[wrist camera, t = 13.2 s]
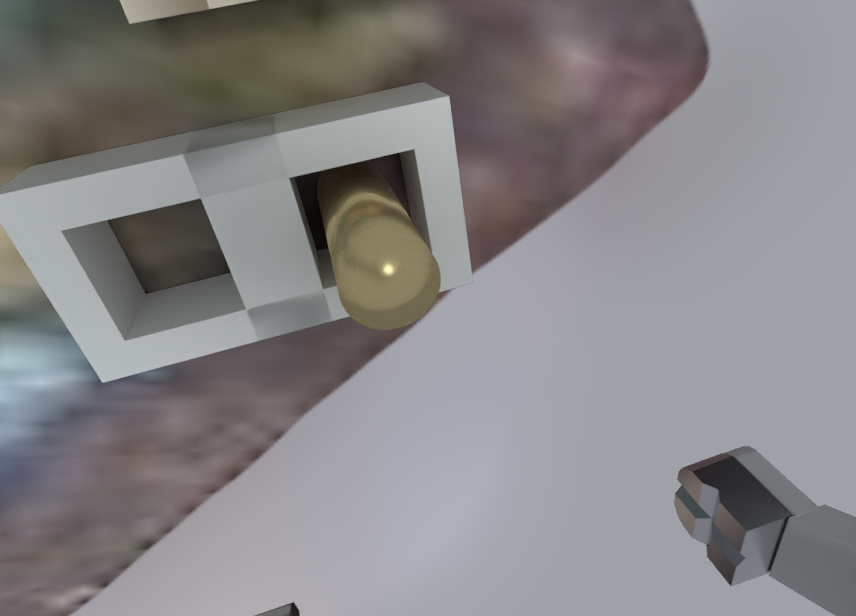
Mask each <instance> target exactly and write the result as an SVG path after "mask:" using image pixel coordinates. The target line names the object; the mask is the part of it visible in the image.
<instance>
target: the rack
mask: <svg viewBox="0 0 856 616" xmlns="http://www.w3.org/2000/svg"><path fill="white" fill-rule="evenodd" d="M395 153H399V155H400V160H401V166H402V171H403V177H404V182H405V187H406V193H407V198H408V203H409V209H410V214H411V219H412V222H413V224H414V225H415V227H416V228H417V230H418V232H419V233H420V235H421V236H422V238H423V240H424V241H425V243H426V244H427V246H428V248H429V249H430V251H431V252H432V254H433V256H434V257H435V259H436V261H437V263H438V265H439V269H440V274H441V285H440V290H439V292H442V291H446V290H449V289H453V288H457V287H461V286H464V285H468V284H472V283H473V278H472V271H471V263H470V255H469V247H468V239H467V232H466V224H465V216H464V208H463V200H462V193H461V185H460V177H459V169H458V161H457V154H456V146H455V138H454V130H453V122H452V115H451V107H450V99H449V96H448V95H446V94H445V93H443V92H441V91H439V90H437V89H435V88H434V87H432V86H430V85H428V84H426V83H424V82H420V83H416V84H411V85H406V86H402V87H397V88H392V89H388V90H383V91H378V92H374V93H369V94H364V95H360V96H355V97H350V98H346V99H341V100H336V101H332V102H327V103H322V104H318V105H313V106H308V107H304V108H299V109H294V110H290V111H285V112H280V113H276V114H271V115H267V116H262V117H257V118H253V119H248V120H243V121H239V122H234V123H229V124H225V125H220V126H215V127H211V128H206V129H201V130H197V131H192V132H187V133H183V134H178V135H173V136H169V137H164V138H159V139H155V140H150V141H145V142H141V143H136V144H131V145H127V146H122V147H117V148H113V149H108V150H103V151H99V152H94V153H89V154H85V155H80V156H75V157H71V158H66V159H61V160H57V161H52V162H47V163H43V164H38V165H33V166H31V167H29V168H28V169H26V170H25V171H23V172H22V173H20V174H19V175H17V176H16V177H14V178H13V179H11V180H10V181H8V182H7V183H6V184H4V185H3V186H1V187H0V224H1V225H2V227H3V228H4V230H5V231H6V233H7V235H8V236H9V238H10V239H11V241H12V242H13V244H14V245H15V247H16V249H17V250H18V252H19V253H20V255H21V256H22V258H23V259H24V261H25V263H26V264H27V266H28V267H29V269H30V270H31V272H32V273H33V275H34V277H35V278H36V280H37V281H38V283H39V284H40V286H41V288H42V289H43V291H44V292H45V294H46V295H47V297H48V298H49V300H50V302H51V303H52V305H53V306H54V308H55V309H56V311H57V312H58V314H59V316H60V317H61V319H62V320H63V322H64V323H65V325H66V326H67V328H68V330H69V331H70V333H71V334H72V336H73V337H74V339H75V341H76V342H77V344H78V345H79V347H80V348H81V350H82V351H83V353H84V355H85V356H86V358H87V359H88V361H89V362H90V364H91V365H92V367H93V369H94V370H95V372H96V373H97V375H98V376H99V378H100V379H101V381H102V383H104V382H108V381H111V380H115V379H119V378H122V377H126V376H130V375H134V374H137V373H141V372H145V371H148V370H152V369H156V368H160V367H163V366H167V365H171V364H174V363H178V362H182V361H186V360H189V359H193V358H197V357H201V356H204V355H208V354H212V353H215V352H219V351H223V350H227V349H230V348H234V347H238V346H241V345H245V344H249V343H253V342H256V341H260V340H264V339H267V338H271V337H275V336H279V335H282V334H286V333H290V332H293V331H297V330H301V329H305V328H308V327H312V326H316V325H319V324H323V323H327V322H331V321H334V320H338V319H342V318H345V317H349V315H348V313H347V312H346V311H345V309H344V307H343V306H342V304H341V301H340V298H339V293H338V289H337V284H336V279H335V275H334V270H333V266H332V261H331V256H330V252H329V248H327V249H323V250H319V251H317V250H316V247H315V244H314V240H313V237H312V234H311V230H310V227H309V224H308V220H307V217H306V214H305V210H304V207H303V204H302V200H301V197H300V194H299V191H298V187H297V184H296V181H295V177H296V176H300V175H304V174H309V173H313V172H317V171H322V170H326V169H330V168H335V167H339V166H343V165H348V164H352V163H356V162H361V161H365V160H369V159H374V158H378V157H382V156H386V155H391V154H395ZM200 198H201V200H202V203H203V205H204V208H205V210H206V212H207V215H208V217H209V220H210V222H211V225H212V227H213V230H214V232H215V234H216V237H217V239H218V242H219V244H220V247H221V249H222V252H223V254H224V256H225V259H226V261H227V264H228V266H229V269H230V271H231V273H227V274H223V275H219V276H215V277H211V278H207V279H203V280H199V281H195V282H191V283H187V284H183V285H179V286H175V287H171V288H167V289H163V290H159V291H155V292H151V293H147V294H145V292H144V290H143V288H142V286H141V284H140V282H139V280H138V278H137V276H136V275H135V273H134V271H133V269H132V267H131V265H130V263H129V261H128V259H127V257H126V255H125V253H124V252H123V250H122V248H121V246H120V244H119V242H118V240H117V238H116V236H115V234H114V232H113V230H112V229H111V227H110V225H109V223H108V221H107V220H110V219H114V218H118V217H123V216H127V215H131V214H136V213H140V212H144V211H149V210H153V209H157V208H161V207H166V206H170V205H174V204H179V203H183V202H187V201H192V200H196V199H200Z"/></svg>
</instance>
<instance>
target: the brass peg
mask: <svg viewBox="0 0 856 616" xmlns="http://www.w3.org/2000/svg"><path fill="white" fill-rule="evenodd" d="M317 197H318V202H319V206H320V211H321V215H322V220H323V224H324V229H325V234H326V238H327V243H328V247H329V252H330V256H331V261H332V266H333V270H334V275H335V279H336V284H337V289H338V293H339V298H340V301H341V304H342V306H343V307H344V309H345V311H346V312H347V313H348V315H349V316H350V317H352V318H353V319H354V320H355V321H357V322H358V323H360V324H362V325H364V326H366V327H369V328H373V329H379V330H391V329H397V328H401V327H404V326H407V325H409V324H411V323H413V322H415V321H416V320H418V319H419V318H421V317H422V316H423V315H424V314H425V313H426V312H427V311H428V310H429V309H430V308H431V307H432V305H433V304H434V302H435V300H436V298H437V296H438V293H439V290H440V285H441V274H440V269H439V265H438V263H437V261H436V259H435V257H434V256H433V254H432V252H431V251H430V249H429V248H428V246H427V244H426V243H425V241H424V240H423V238H422V236H421V235H420V233H419V232H418V230H417V228H416V227H415V225H414V224H413V222H412V220H411V219H410V217H409V216H408V214H407V212H406V211H405V209H404V208H403V206H402V204H401V203H400V201H399V200H398V198H397V196H396V195H395V193H394V192H393V190H392V188H391V187H390V185H389V184H388V182H387V180H386V179H385V177H384V176H383V174H382V172H381V171H380V170H379V168H378V167H377V166H376V165H375V164H374V163H372V162H371V161H369V160H365V161H361V162H356V163H352V164H348V165H343V166H339V167H335V168H330V169H326V170H323V171H322V173H321V175H320V177H319V180H318V183H317Z"/></svg>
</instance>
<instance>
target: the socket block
mask: <svg viewBox="0 0 856 616" xmlns="http://www.w3.org/2000/svg"><path fill="white" fill-rule="evenodd" d="M253 1H259V0H120V2H121V5H122V7H123V10H124V12H125V14H126V17H127V19H128V22H129V24H131V23H138V22H144V21H150V20H156V19H162V18H167V17H173V16H178V15H183V14H189V13H194V12H199V11H205V10H210V9H216V8H221V7H226V6H232V5H237V4H242V3H248V2H253Z"/></svg>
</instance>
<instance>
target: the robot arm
mask: <svg viewBox="0 0 856 616" xmlns="http://www.w3.org/2000/svg"><path fill="white" fill-rule="evenodd" d="M678 481H679V482H680V483H681V485H682V486H681V487H680V488H679V489H678V491H677V492H676V493H675V501H674V505H675V508H676V511H677V514H678V517H679V519H680V521H681V522H682V524H683V526H684V527H685V529H686V530H687V531H688V533H689V534H690V535H691V537H692V538H694V539H696V540H698V541H700V542H702V543H704V544H706V546H707V557H708V558H709V560H710V561H711V562H712V563H713V564H714V566H715V567H716V568H717V570H718V571H719V572H720V573H721V575H722V576H723V577H724V578H725V579H726V581H727V582H728V583H729V585H730V586H733V585H736V584H739V583H742V582H745V581H747V580H751V579H753V578H756V577H759V576H762V575H765V574H767V573H770V574H769V576H771V577H772V578H774V579H776V580H777V581H779V582H780V583H782V584H784V585H785V586H787V587H789V588H790V589H792V590H794V591H795V592H797V593H799V594H800V595H802V596H804V597H806V598H807V599H809V600H810V601H812V602H814V603H815V604H817V605H819V606H820V607H822V608H824V609H825V610H827V611H829V612H831V613H832V614H834V615H836V616H856V517H854V516H851V515H849V514H846V513H844V512H842V511H839V510H837V509H834V508H832V507H829V506H827V505H822V506H819V507H818V506H817V505H816V504H815V503H813V502H812V501H811V500H810V499H809V498H808V497H807V496H806V495H805V494H804V493H803V492H801V491H800V490H799V489H798V488H797V487H796V486H795V485H794V484H792V482H790V481H789V480H788V479H787V478H786V477H785V476H784V475H783V474H782V473H781V472H780V471H778V470H777V469H776V468H775V467H774V466H773V465H772V464H771V463H769V461H767V460H766V459H765V458H764V457H763V456H762V455H761V454H760V453H759V452H757V451H756V450H755V449H753V448H751V447H749V446H744V447H740V448H737V449H734V450H731V451H729V452H726V453H722V454H719V455H716V456H713V457H711V458H708V459H705V460H702V461H700V462H697V463H695V464H692V465H689V466H686V467H683V468H682V469H681V470H680V471H679V473H678ZM255 616H300V615H299V610H298V608H297V606H296V605H295V603H294V602H293V603H290V604H287V605H284V606H281V607H279V608H275V609H272V610H270V611H267V612H264V613H261V614H258V615H255Z"/></svg>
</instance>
